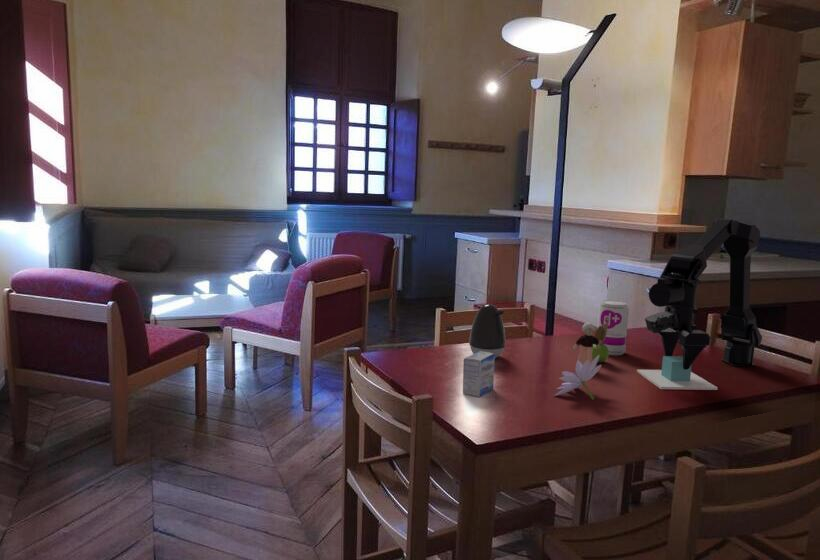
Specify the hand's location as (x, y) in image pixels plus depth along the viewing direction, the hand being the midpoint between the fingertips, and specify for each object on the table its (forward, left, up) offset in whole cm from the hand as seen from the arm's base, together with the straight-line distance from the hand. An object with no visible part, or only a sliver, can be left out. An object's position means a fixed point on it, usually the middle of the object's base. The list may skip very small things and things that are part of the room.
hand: (676, 363), depth 151 cm
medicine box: (+52, +10, -5) cm, 53 cm away
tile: (0, 0, -4) cm, 4 cm away
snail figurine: (+14, -16, -5) cm, 22 cm away
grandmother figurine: (+20, -9, -5) cm, 22 cm away
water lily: (+29, +11, -5) cm, 31 cm away
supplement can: (+7, -26, -5) cm, 27 cm away
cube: (0, 0, -4) cm, 4 cm away
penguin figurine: (+45, -19, -5) cm, 49 cm away
